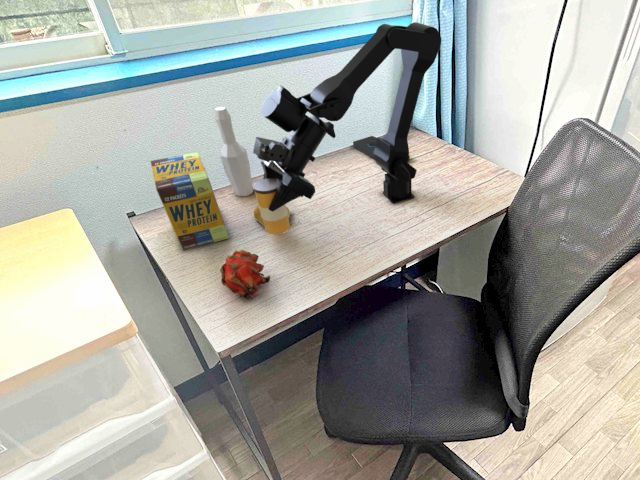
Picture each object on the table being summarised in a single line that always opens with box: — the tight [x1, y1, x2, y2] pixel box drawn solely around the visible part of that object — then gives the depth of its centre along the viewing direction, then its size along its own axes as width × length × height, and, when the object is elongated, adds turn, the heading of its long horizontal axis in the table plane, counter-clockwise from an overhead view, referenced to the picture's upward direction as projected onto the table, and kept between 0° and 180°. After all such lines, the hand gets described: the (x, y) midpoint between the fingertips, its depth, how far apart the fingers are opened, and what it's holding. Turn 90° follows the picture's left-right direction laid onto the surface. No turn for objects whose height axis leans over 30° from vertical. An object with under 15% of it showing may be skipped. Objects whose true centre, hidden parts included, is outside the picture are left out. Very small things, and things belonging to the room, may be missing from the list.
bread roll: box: [253, 204, 291, 227], centre depth 106 cm, size 8×9×4 cm
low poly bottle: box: [214, 106, 254, 197], centre depth 110 cm, size 6×6×22 cm
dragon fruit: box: [219, 249, 271, 300], centre depth 85 cm, size 8×8×12 cm
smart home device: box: [352, 135, 411, 163], centre depth 133 cm, size 8×2×20 cm
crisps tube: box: [252, 178, 291, 236], centre depth 96 cm, size 6×6×11 cm
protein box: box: [150, 152, 229, 251], centre depth 99 cm, size 10×15×16 cm
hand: (265, 204), depth 95 cm, fingers closed on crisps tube, 6 cm apart
